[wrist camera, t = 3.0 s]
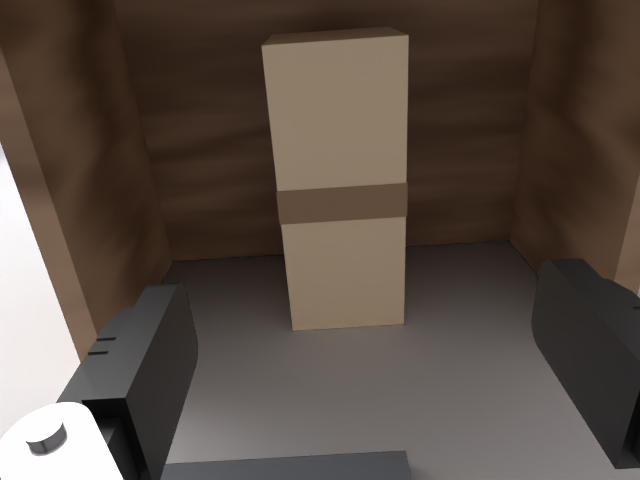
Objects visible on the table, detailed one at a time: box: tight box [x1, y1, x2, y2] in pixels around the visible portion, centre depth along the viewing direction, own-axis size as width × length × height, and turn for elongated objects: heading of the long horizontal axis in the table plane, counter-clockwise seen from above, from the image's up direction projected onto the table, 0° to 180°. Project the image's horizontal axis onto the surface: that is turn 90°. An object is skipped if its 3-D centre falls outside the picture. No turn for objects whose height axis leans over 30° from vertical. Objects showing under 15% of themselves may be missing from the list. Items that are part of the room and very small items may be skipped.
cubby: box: [0, 0, 640, 362], centre depth 21 cm, size 11×22×17 cm, turn 90°
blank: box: [261, 26, 409, 331], centre depth 22 cm, size 5×5×12 cm
